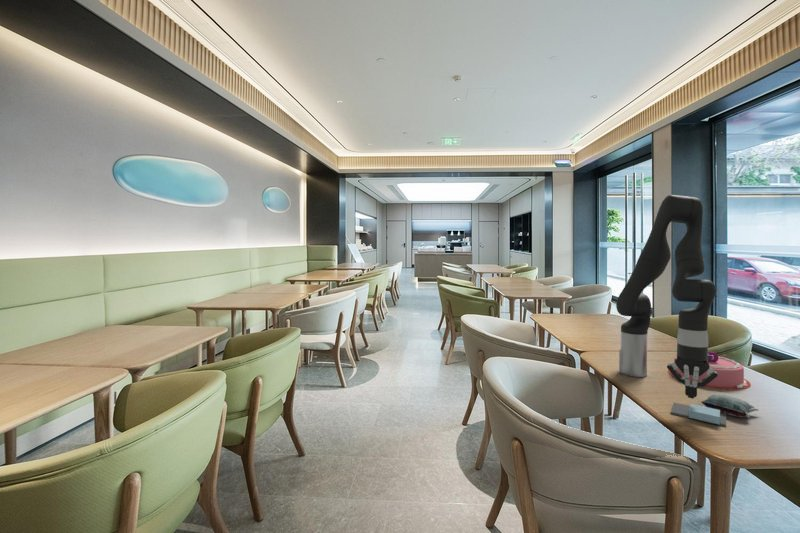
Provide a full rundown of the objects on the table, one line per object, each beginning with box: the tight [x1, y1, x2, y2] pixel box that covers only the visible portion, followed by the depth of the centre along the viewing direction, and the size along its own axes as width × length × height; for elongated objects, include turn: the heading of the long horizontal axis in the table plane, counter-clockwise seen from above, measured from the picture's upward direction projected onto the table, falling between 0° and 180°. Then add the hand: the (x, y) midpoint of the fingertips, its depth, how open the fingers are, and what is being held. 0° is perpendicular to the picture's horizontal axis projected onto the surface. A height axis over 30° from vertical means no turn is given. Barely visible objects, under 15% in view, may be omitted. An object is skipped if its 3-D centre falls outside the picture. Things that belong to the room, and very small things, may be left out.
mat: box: [670, 402, 727, 427], centre depth 113 cm, size 13×9×1 cm
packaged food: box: [700, 392, 759, 419], centre depth 114 cm, size 9×12×5 cm
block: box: [689, 403, 721, 426], centre depth 110 cm, size 2×7×6 cm
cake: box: [667, 351, 752, 391], centre depth 144 cm, size 25×25×11 cm
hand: (691, 397), depth 114 cm, fingers closed
